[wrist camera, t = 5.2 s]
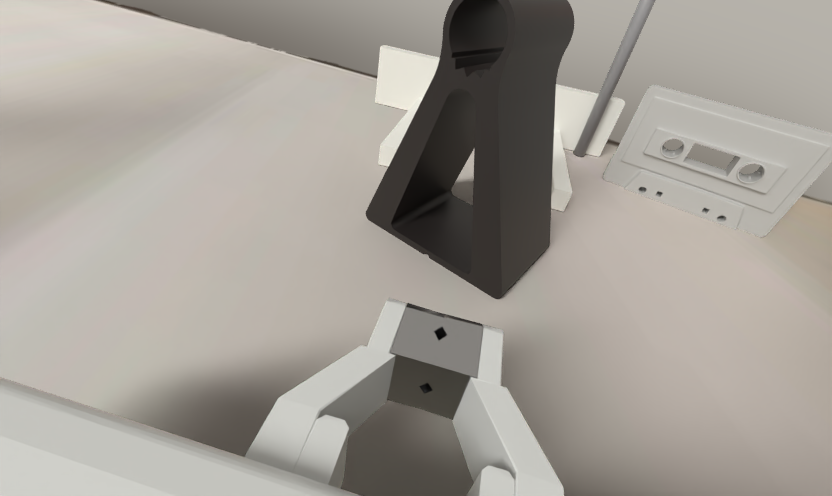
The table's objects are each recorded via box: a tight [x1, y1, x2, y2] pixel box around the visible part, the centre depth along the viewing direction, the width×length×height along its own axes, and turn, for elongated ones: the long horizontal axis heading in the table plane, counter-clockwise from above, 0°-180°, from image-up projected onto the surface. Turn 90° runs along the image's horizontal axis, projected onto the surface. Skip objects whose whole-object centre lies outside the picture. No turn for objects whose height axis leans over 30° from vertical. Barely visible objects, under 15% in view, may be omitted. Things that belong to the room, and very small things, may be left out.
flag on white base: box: [375, 0, 655, 212], centre depth 26 cm, size 25×14×20 cm, turn 77°
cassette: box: [603, 85, 832, 237], centre depth 28 cm, size 12×2×8 cm, turn 59°
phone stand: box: [366, 0, 574, 299], centre depth 19 cm, size 9×6×12 cm, turn 51°
